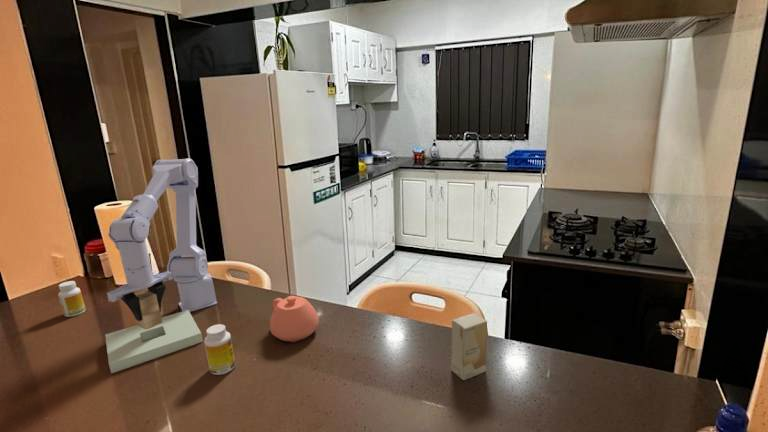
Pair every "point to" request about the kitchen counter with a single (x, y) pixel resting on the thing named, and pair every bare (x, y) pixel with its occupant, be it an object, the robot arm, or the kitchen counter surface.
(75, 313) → the supplement bottle
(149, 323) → the oak peg
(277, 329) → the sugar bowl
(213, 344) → the supplement bottle
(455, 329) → the skincare box
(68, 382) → the kitchen counter surface
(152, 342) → the socket board
